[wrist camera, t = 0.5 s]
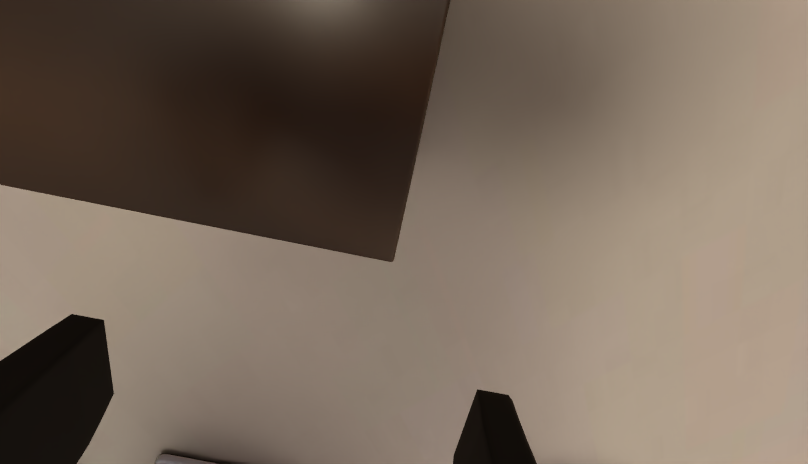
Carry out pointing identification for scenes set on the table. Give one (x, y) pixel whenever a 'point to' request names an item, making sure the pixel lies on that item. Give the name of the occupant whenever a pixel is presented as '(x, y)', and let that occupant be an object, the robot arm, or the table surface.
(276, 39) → the cabinet
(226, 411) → the table surface
